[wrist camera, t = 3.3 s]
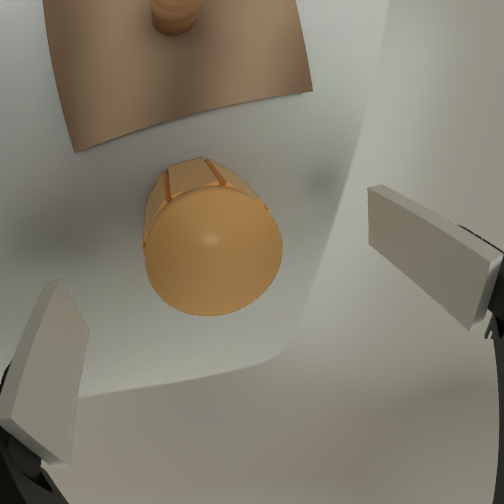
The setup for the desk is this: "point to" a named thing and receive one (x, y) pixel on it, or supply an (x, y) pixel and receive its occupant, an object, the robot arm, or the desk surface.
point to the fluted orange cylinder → (208, 240)
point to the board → (168, 59)
